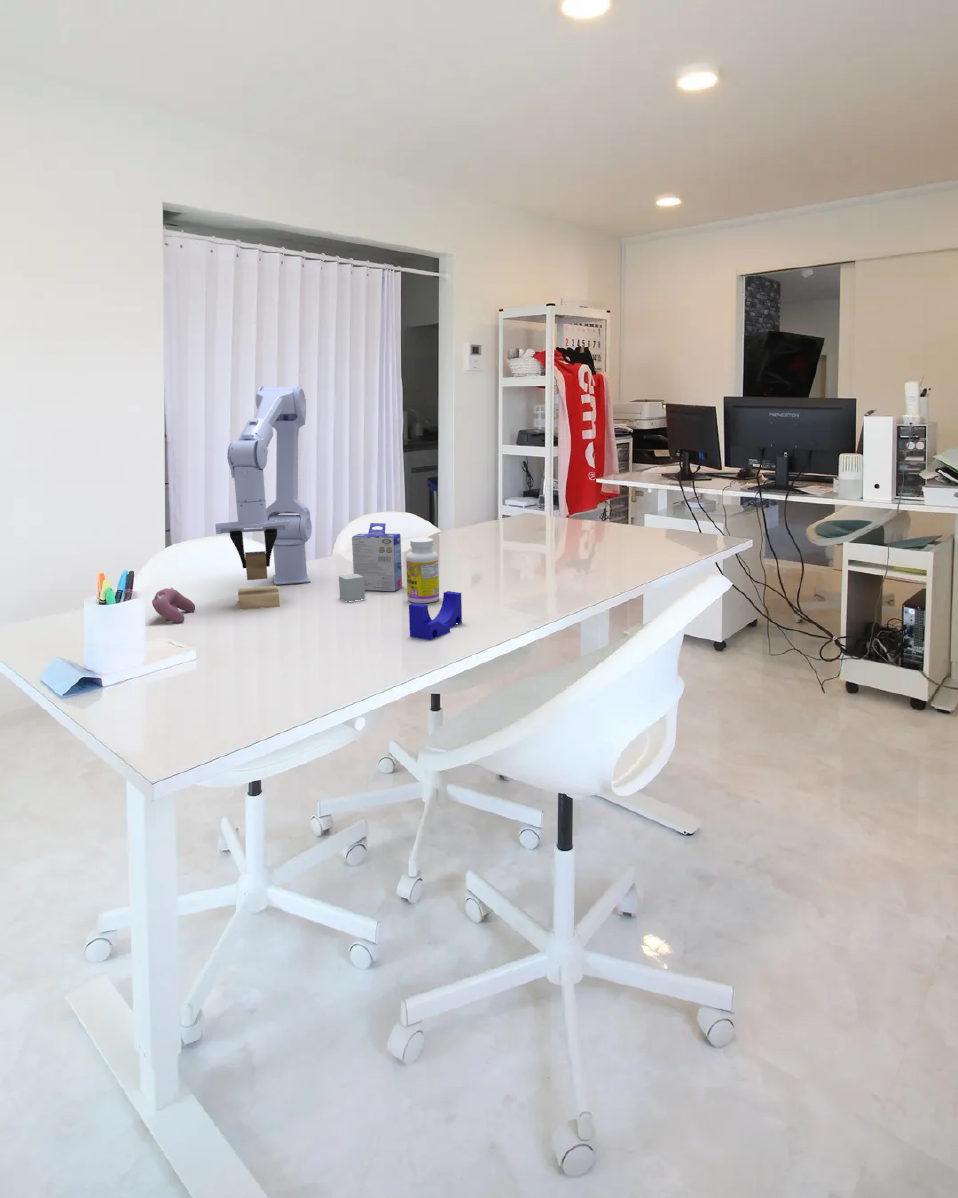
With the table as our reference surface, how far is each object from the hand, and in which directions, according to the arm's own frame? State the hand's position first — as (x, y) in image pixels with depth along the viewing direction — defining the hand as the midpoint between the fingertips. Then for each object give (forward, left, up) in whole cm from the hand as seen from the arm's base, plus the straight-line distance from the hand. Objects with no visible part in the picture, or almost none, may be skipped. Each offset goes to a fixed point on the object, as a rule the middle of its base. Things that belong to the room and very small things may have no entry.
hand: (256, 566), depth 167 cm
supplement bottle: (+9, +33, -8) cm, 35 cm away
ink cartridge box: (-5, +26, -8) cm, 28 cm away
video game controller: (+6, -16, -8) cm, 19 cm away
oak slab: (0, 0, -8) cm, 8 cm away
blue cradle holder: (+32, +31, -8) cm, 45 cm away
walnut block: (0, 0, -2) cm, 2 cm away
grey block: (+3, +19, -8) cm, 21 cm away
